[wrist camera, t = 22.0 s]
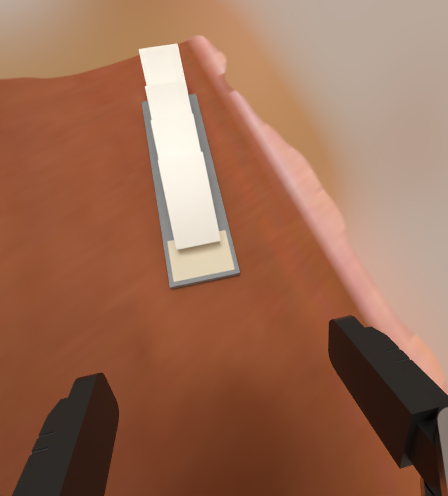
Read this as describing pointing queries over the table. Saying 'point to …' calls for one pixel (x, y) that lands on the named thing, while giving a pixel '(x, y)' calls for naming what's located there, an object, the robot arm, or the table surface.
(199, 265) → the board
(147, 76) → the domino
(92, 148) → the table surface
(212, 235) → the domino
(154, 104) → the domino
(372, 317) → the table surface
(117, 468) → the table surface
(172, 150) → the domino
